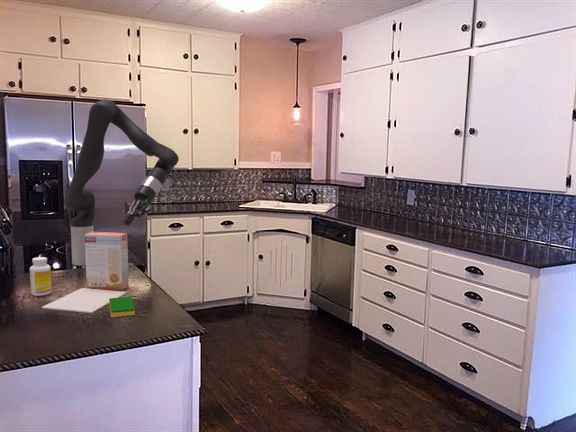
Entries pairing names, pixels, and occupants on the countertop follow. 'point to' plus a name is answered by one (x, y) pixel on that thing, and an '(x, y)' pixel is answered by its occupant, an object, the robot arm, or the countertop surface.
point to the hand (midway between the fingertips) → (125, 223)
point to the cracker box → (106, 260)
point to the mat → (84, 300)
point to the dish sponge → (121, 306)
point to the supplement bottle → (40, 277)
